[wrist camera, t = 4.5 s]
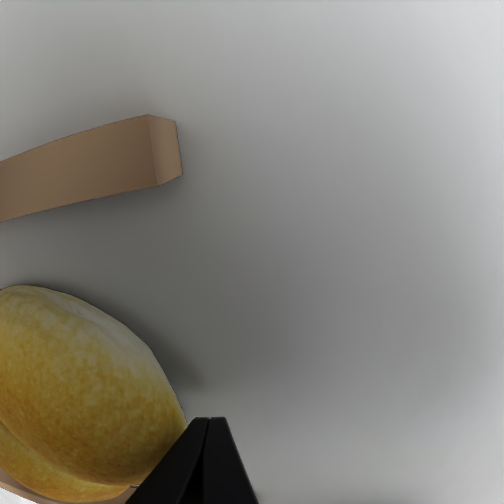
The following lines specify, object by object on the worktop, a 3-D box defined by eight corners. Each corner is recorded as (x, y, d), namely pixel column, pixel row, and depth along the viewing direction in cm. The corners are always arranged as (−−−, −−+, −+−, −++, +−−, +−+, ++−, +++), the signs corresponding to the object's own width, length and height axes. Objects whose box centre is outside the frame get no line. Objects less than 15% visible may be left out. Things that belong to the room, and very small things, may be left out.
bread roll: (240, 396, 9) (235, 508, 6) (106, 472, 11) (84, 538, 8) (31, 209, 7) (-74, 259, 4) (-32, 358, 9) (-79, 411, 6)
